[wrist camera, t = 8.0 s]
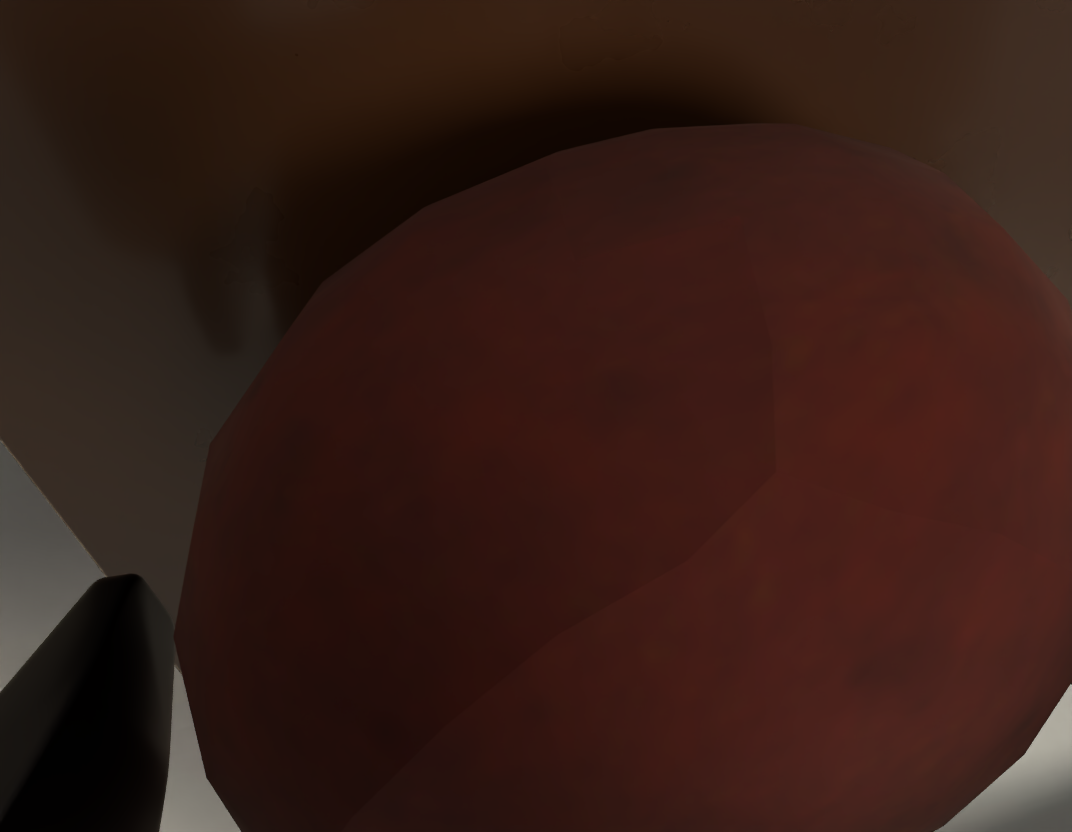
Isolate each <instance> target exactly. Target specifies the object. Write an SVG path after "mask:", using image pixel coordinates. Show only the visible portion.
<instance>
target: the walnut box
mask: <svg viewBox="0 0 1072 832" xmlns="http://www.w3.org/2000/svg"><path fill="white" fill-rule="evenodd" d="M751 123H777V124H797V125H801V126H805V127H809V128H813V129H817V130H821V131H825V132H829V133H833V134H837V135H841V136H845V137H849V138H853V139H857V140H861V141H865V142H869V143H873V144H877V145H881V146H885V147H889V148H892V149H894V150H897V151H899V152H901V153H903V154H905V155H907V156H909V157H911V158H914V159H916V160H918V161H920V162H922V163H924V164H926V165H928V166H931V167H933V168H935V169H937V170H939V171H941V172H943V173H945V174H946V175H947V176H948V177H949V178H950V179H951V180H952V181H954V182H955V183H956V184H957V185H958V186H959V187H960V188H961V189H962V190H963V191H964V192H965V193H966V194H968V195H969V196H970V197H971V198H972V199H973V200H974V201H975V202H976V203H977V204H978V205H979V206H980V207H981V208H983V209H984V210H985V211H986V212H987V213H988V214H989V215H990V216H991V217H992V218H993V219H994V220H995V221H996V222H998V223H999V224H1000V225H1001V226H1002V227H1003V228H1004V229H1005V230H1006V231H1007V233H1008V234H1009V235H1010V236H1011V237H1012V238H1013V239H1014V240H1015V242H1016V243H1017V244H1018V245H1019V246H1020V247H1021V248H1022V249H1023V250H1024V252H1025V253H1026V254H1027V255H1028V256H1029V257H1030V258H1031V259H1032V260H1033V262H1034V263H1035V264H1036V265H1037V266H1038V267H1039V268H1040V269H1041V271H1042V272H1043V273H1044V274H1045V275H1046V276H1047V277H1048V278H1049V279H1050V281H1051V282H1052V283H1053V284H1054V285H1055V286H1056V287H1057V288H1058V290H1059V291H1060V292H1061V293H1062V294H1063V295H1064V296H1065V297H1066V298H1067V300H1068V302H1069V305H1070V308H1071V311H1072V0H0V441H1V442H2V443H3V444H4V446H5V447H6V448H7V450H8V451H9V452H10V453H11V455H12V456H13V457H14V459H15V460H16V461H17V462H18V464H19V465H20V466H21V468H22V469H23V470H24V472H25V473H26V474H27V475H28V477H29V478H30V479H31V481H32V482H33V483H34V484H35V486H36V487H37V488H38V490H39V491H40V492H41V493H42V495H43V496H44V497H45V499H46V500H47V501H48V502H49V504H50V505H51V506H52V508H53V509H54V510H55V512H56V513H57V514H58V515H59V517H60V518H61V519H62V521H63V522H64V523H65V524H66V526H67V527H68V528H69V530H70V531H71V532H72V533H73V535H74V536H75V537H76V539H77V540H78V541H79V542H80V544H81V545H82V546H83V548H84V549H85V550H86V552H87V553H88V554H89V555H90V557H91V558H92V559H93V561H94V562H95V563H96V564H97V566H98V567H99V568H100V570H101V571H102V572H103V573H104V575H105V576H106V577H110V576H117V575H124V574H130V573H133V574H137V575H139V576H141V577H143V579H144V580H145V581H146V582H147V584H148V585H149V586H150V588H151V589H152V590H153V592H154V593H155V595H156V596H157V597H158V599H159V600H160V601H161V603H162V604H163V606H164V607H165V608H166V610H167V611H168V612H169V614H170V616H171V618H172V620H173V623H174V627H175V624H176V619H177V614H178V608H179V603H180V597H181V592H182V586H183V581H184V575H185V570H186V565H187V559H188V554H189V548H190V543H191V537H192V532H193V527H194V522H195V517H196V512H197V507H198V502H199V496H200V491H201V486H202V481H203V476H204V471H205V466H206V461H207V456H208V451H209V446H210V443H211V442H212V441H213V439H214V438H215V436H216V435H217V433H218V432H219V430H220V429H221V427H222V426H223V424H224V423H225V422H226V420H227V419H228V417H229V416H230V414H231V413H232V411H233V410H234V408H235V407H236V405H237V404H238V403H239V401H240V400H241V398H242V397H243V395H244V394H245V392H246V391H247V389H248V388H249V386H250V385H251V384H252V382H253V381H254V379H255V378H256V376H257V375H258V373H259V372H260V370H261V369H262V367H263V366H264V365H265V363H266V362H267V360H268V359H269V357H270V356H271V354H272V353H273V351H274V350H275V348H276V347H277V345H278V344H279V343H280V341H281V340H282V338H283V337H284V335H285V334H286V332H287V331H288V329H289V328H290V327H291V325H292V324H293V322H294V321H295V320H296V318H297V317H298V315H299V314H300V313H301V311H302V310H303V308H304V307H305V306H306V304H307V303H308V301H309V300H310V299H311V297H312V296H313V294H314V293H315V292H316V290H317V289H318V287H319V286H320V285H321V283H322V282H323V281H324V280H326V279H327V278H329V277H330V276H331V275H333V274H334V273H335V272H337V271H338V270H339V269H341V268H342V267H343V266H345V265H346V264H348V263H349V262H350V261H352V260H353V259H354V258H356V257H357V256H358V255H360V254H361V253H363V252H364V251H365V250H367V249H368V248H369V247H371V246H372V245H373V244H375V243H376V242H377V241H379V240H380V239H382V238H383V237H384V236H386V235H387V234H388V233H390V232H391V231H392V230H394V229H395V228H397V227H398V226H399V225H401V224H402V223H403V222H405V221H406V220H407V219H409V218H410V217H411V216H413V215H414V214H416V213H417V212H418V211H420V210H421V209H422V208H424V207H426V206H428V205H431V204H433V203H435V202H438V201H440V200H443V199H445V198H447V197H450V196H452V195H455V194H457V193H459V192H462V191H464V190H467V189H469V188H471V187H474V186H476V185H479V184H481V183H483V182H486V181H488V180H491V179H493V178H495V177H498V176H500V175H503V174H505V173H507V172H510V171H512V170H515V169H517V168H520V167H522V166H524V165H527V164H529V163H532V162H534V161H536V160H539V159H541V158H544V157H546V156H548V155H551V154H553V153H556V152H558V151H562V150H566V149H570V148H574V147H578V146H583V145H587V144H591V143H595V142H599V141H603V140H607V139H612V138H616V137H620V136H624V135H628V134H632V133H637V132H641V131H645V130H649V129H657V128H676V127H694V126H713V125H732V124H751ZM174 665H175V666H176V668H177V669H178V670H179V672H180V673H181V674H182V672H181V667H180V663H179V659H178V655H177V650H176V646H175V660H174Z"/></svg>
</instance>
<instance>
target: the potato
mask: <svg viewBox="0 0 1072 832" xmlns="http://www.w3.org/2000/svg"><path fill="white" fill-rule="evenodd" d="M173 638H174V642H175V646H176V650H177V655H178V659H179V663H180V667H181V672H182V676H183V680H184V684H185V689H186V693H187V697H188V701H189V706H190V710H191V714H192V718H193V723H194V727H195V731H196V735H197V740H198V744H199V748H200V752H201V756H202V761H203V765H204V769H205V773H206V778H207V779H208V781H209V782H210V784H211V785H212V787H213V788H214V790H215V792H216V793H217V795H218V796H219V798H220V799H221V801H222V802H223V804H224V805H225V807H226V809H227V810H228V812H229V813H230V815H231V816H232V818H233V819H234V821H235V823H236V824H237V826H238V827H239V829H240V830H241V832H933V831H935V830H937V829H939V828H941V827H942V826H944V825H945V824H946V823H947V822H949V821H950V820H951V819H952V818H953V817H954V816H955V815H956V814H958V813H959V812H960V811H961V810H962V809H963V808H964V807H966V806H967V805H968V804H969V803H970V802H971V801H972V800H973V799H975V798H976V797H977V796H978V795H979V794H980V793H981V792H982V791H984V790H985V789H986V788H987V787H988V786H989V785H990V784H992V783H993V782H994V781H995V780H996V779H997V778H998V777H999V776H1001V775H1002V774H1003V773H1004V772H1005V771H1006V770H1007V769H1009V768H1010V767H1011V766H1012V765H1013V764H1014V763H1015V762H1016V761H1018V760H1019V759H1020V758H1021V757H1022V756H1023V755H1024V754H1025V753H1026V751H1027V750H1028V748H1029V747H1030V745H1031V743H1032V742H1033V740H1034V739H1035V737H1036V736H1037V734H1038V733H1039V731H1040V730H1041V728H1042V727H1043V725H1044V724H1045V722H1046V721H1047V719H1048V718H1049V716H1050V714H1051V713H1052V711H1053V710H1054V708H1055V707H1056V705H1057V704H1058V702H1059V701H1060V699H1061V698H1062V696H1063V695H1064V693H1065V692H1066V690H1067V688H1068V687H1069V685H1070V684H1071V682H1072V311H1071V308H1070V305H1069V302H1068V300H1067V298H1066V297H1065V296H1064V295H1063V294H1062V293H1061V292H1060V291H1059V290H1058V288H1057V287H1056V286H1055V285H1054V284H1053V283H1052V282H1051V281H1050V279H1049V278H1048V277H1047V276H1046V275H1045V274H1044V273H1043V272H1042V271H1041V269H1040V268H1039V267H1038V266H1037V265H1036V264H1035V263H1034V262H1033V260H1032V259H1031V258H1030V257H1029V256H1028V255H1027V254H1026V253H1025V252H1024V250H1023V249H1022V248H1021V247H1020V246H1019V245H1018V244H1017V243H1016V242H1015V240H1014V239H1013V238H1012V237H1011V236H1010V235H1009V234H1008V233H1007V231H1006V230H1005V229H1004V228H1003V227H1002V226H1001V225H1000V224H999V223H998V222H996V221H995V220H994V219H993V218H992V217H991V216H990V215H989V214H988V213H987V212H986V211H985V210H984V209H983V208H981V207H980V206H979V205H978V204H977V203H976V202H975V201H974V200H973V199H972V198H971V197H970V196H969V195H968V194H966V193H965V192H964V191H963V190H962V189H961V188H960V187H959V186H958V185H957V184H956V183H955V182H954V181H952V180H951V179H950V178H949V177H948V176H947V175H946V174H945V173H943V172H941V171H939V170H937V169H935V168H933V167H931V166H928V165H926V164H924V163H922V162H920V161H918V160H916V159H914V158H911V157H909V156H907V155H905V154H903V153H901V152H899V151H897V150H894V149H892V148H889V147H885V146H881V145H877V144H873V143H869V142H865V141H861V140H857V139H853V138H849V137H845V136H841V135H837V134H833V133H829V132H825V131H821V130H817V129H813V128H809V127H805V126H801V125H797V124H777V123H751V124H732V125H713V126H694V127H676V128H657V129H649V130H645V131H641V132H637V133H632V134H628V135H624V136H620V137H616V138H612V139H607V140H603V141H599V142H595V143H591V144H587V145H583V146H578V147H574V148H570V149H566V150H562V151H558V152H556V153H553V154H551V155H548V156H546V157H544V158H541V159H539V160H536V161H534V162H532V163H529V164H527V165H524V166H522V167H520V168H517V169H515V170H512V171H510V172H507V173H505V174H503V175H500V176H498V177H495V178H493V179H491V180H488V181H486V182H483V183H481V184H479V185H476V186H474V187H471V188H469V189H467V190H464V191H462V192H459V193H457V194H455V195H452V196H450V197H447V198H445V199H443V200H440V201H438V202H435V203H433V204H431V205H428V206H426V207H424V208H422V209H421V210H420V211H418V212H417V213H416V214H414V215H413V216H411V217H410V218H409V219H407V220H406V221H405V222H403V223H402V224H401V225H399V226H398V227H397V228H395V229H394V230H392V231H391V232H390V233H388V234H387V235H386V236H384V237H383V238H382V239H380V240H379V241H377V242H376V243H375V244H373V245H372V246H371V247H369V248H368V249H367V250H365V251H364V252H363V253H361V254H360V255H358V256H357V257H356V258H354V259H353V260H352V261H350V262H349V263H348V264H346V265H345V266H343V267H342V268H341V269H339V270H338V271H337V272H335V273H334V274H333V275H331V276H330V277H329V278H327V279H326V280H324V281H323V282H322V283H321V285H320V286H319V287H318V289H317V290H316V292H315V293H314V294H313V296H312V297H311V299H310V300H309V301H308V303H307V304H306V306H305V307H304V308H303V310H302V311H301V313H300V314H299V315H298V317H297V318H296V320H295V321H294V322H293V324H292V325H291V327H290V328H289V329H288V331H287V332H286V334H285V335H284V337H283V338H282V340H281V341H280V343H279V344H278V345H277V347H276V348H275V350H274V351H273V353H272V354H271V356H270V357H269V359H268V360H267V362H266V363H265V365H264V366H263V367H262V369H261V370H260V372H259V373H258V375H257V376H256V378H255V379H254V381H253V382H252V384H251V385H250V386H249V388H248V389H247V391H246V392H245V394H244V395H243V397H242V398H241V400H240V401H239V403H238V404H237V405H236V407H235V408H234V410H233V411H232V413H231V414H230V416H229V417H228V419H227V420H226V422H225V423H224V424H223V426H222V427H221V429H220V430H219V432H218V433H217V435H216V436H215V438H214V439H213V441H212V442H211V443H210V446H209V451H208V456H207V461H206V466H205V471H204V476H203V481H202V486H201V491H200V496H199V502H198V507H197V512H196V517H195V522H194V527H193V532H192V537H191V543H190V548H189V554H188V559H187V565H186V570H185V575H184V581H183V586H182V592H181V597H180V603H179V608H178V614H177V619H176V624H175V630H174V635H173Z"/></svg>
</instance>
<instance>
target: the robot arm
mask: <svg viewBox="0 0 1072 832" xmlns="http://www.w3.org/2000/svg"><path fill="white" fill-rule="evenodd" d="M174 630H175V627H174V623H173V620H172V618H171V616H170V614H169V612H168V611H167V610H166V608H165V607H164V606H163V604H162V603H161V601H160V600H159V599H158V597H157V596H156V595H155V593H154V592H153V590H152V589H151V588H150V586H149V585H148V584H147V582H146V581H145V580H144V579H143V577H141V576H139V575H137V574H133V573H130V574H124V575H117V576H110V577H105V578H101V579H99V580H97V581H96V582H94V583H93V584H92V585H91V586H90V587H89V588H88V589H87V591H86V592H85V593H84V594H83V595H82V597H81V598H80V599H79V600H78V601H77V602H76V604H75V605H74V606H73V607H72V608H71V610H70V611H69V612H68V613H67V614H66V615H65V617H64V618H63V619H62V620H61V621H60V623H59V624H58V625H57V626H56V627H55V628H54V630H53V631H52V632H51V633H50V634H49V635H48V637H47V638H46V639H45V640H44V641H43V643H42V644H41V645H40V646H39V647H38V648H37V650H36V651H35V652H34V653H33V654H32V656H31V657H30V658H29V659H28V660H27V661H26V663H25V664H24V665H23V666H22V667H21V669H20V670H19V671H18V672H17V673H16V674H15V676H14V677H13V678H12V679H11V680H10V682H9V683H8V684H7V685H6V686H5V687H4V689H3V690H2V691H1V692H0V832H159V829H160V823H161V817H162V811H163V805H164V799H165V792H166V785H167V778H168V769H169V756H170V739H171V720H172V700H173V680H174V660H175V642H174V638H173V635H174ZM1071 684H1072V682H1071Z"/></svg>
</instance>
